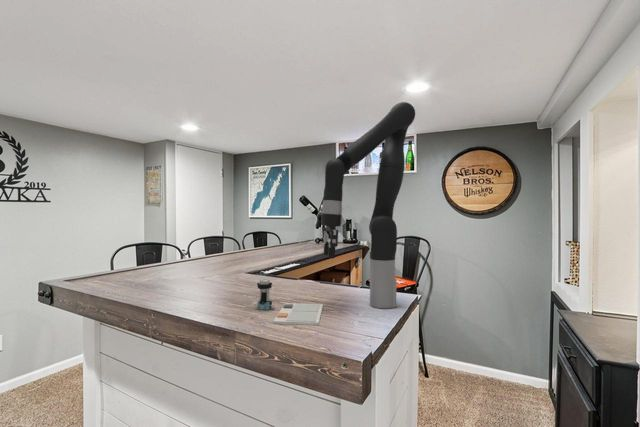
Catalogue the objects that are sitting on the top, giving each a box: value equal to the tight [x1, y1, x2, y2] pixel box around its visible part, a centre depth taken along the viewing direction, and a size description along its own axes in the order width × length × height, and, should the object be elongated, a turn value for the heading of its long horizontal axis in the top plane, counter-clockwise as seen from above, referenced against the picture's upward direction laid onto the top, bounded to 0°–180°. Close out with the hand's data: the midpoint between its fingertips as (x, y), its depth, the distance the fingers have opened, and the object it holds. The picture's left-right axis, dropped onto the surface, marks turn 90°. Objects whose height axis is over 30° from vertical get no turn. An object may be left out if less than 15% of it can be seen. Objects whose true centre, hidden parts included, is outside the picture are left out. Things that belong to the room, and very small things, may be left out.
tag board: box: [272, 302, 324, 326], centre depth 104 cm, size 14×20×1 cm
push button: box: [256, 279, 276, 311], centre depth 110 cm, size 7×5×10 cm
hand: (328, 256), depth 115 cm, fingers open, 8 cm apart
